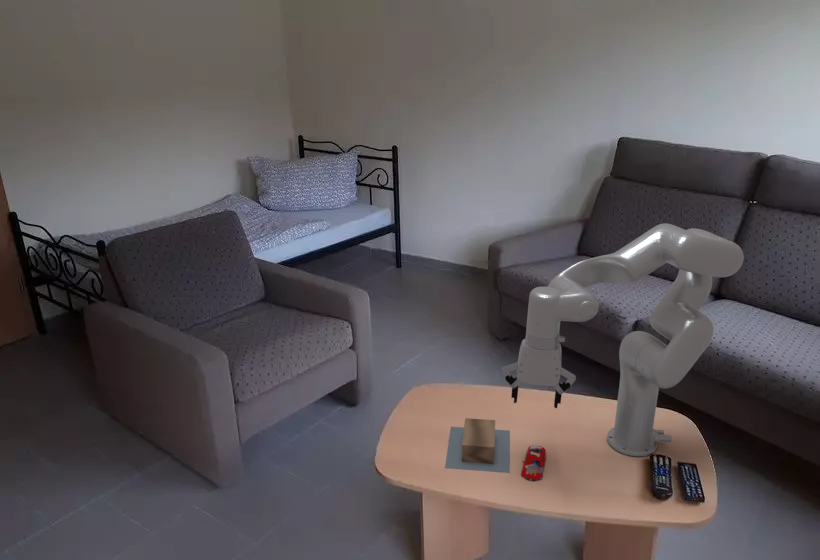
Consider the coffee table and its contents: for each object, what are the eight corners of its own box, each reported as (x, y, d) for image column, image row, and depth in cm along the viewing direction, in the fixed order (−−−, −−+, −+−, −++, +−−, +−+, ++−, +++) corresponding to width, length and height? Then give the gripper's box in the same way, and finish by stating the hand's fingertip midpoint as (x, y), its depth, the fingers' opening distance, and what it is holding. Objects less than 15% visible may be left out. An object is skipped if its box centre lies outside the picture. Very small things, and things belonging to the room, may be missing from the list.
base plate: (509, 434, 182) (509, 430, 181) (509, 476, 165) (509, 472, 165) (450, 430, 184) (450, 426, 183) (444, 471, 167) (444, 467, 167)
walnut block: (494, 435, 179) (495, 420, 177) (493, 464, 168) (494, 447, 166) (464, 433, 180) (465, 418, 178) (461, 461, 169) (462, 445, 167)
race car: (540, 488, 162) (541, 475, 160) (518, 484, 163) (519, 470, 162) (548, 456, 173) (549, 443, 172) (527, 452, 175) (528, 439, 173)
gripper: (579, 336, 158) (571, 399, 164) (505, 328, 161) (501, 390, 167) (580, 350, 151) (572, 415, 157) (503, 342, 154) (498, 406, 160)
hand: (535, 402), depth 162 cm, fingers open, 9 cm apart
